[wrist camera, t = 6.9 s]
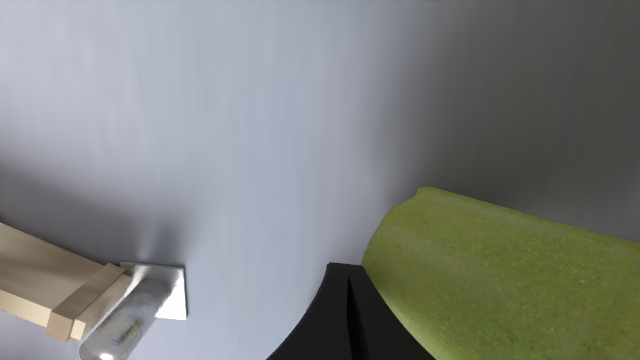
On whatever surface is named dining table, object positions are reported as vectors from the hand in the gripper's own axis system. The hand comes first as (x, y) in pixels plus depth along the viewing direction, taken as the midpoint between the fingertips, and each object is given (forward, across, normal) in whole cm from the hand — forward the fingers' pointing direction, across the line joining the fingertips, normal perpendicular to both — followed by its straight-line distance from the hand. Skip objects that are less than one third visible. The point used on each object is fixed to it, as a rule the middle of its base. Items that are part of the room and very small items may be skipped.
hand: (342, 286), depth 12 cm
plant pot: (+3, -2, 0) cm, 4 cm away
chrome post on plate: (+5, +10, +5) cm, 13 cm away
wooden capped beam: (+5, +16, +3) cm, 17 cm away
